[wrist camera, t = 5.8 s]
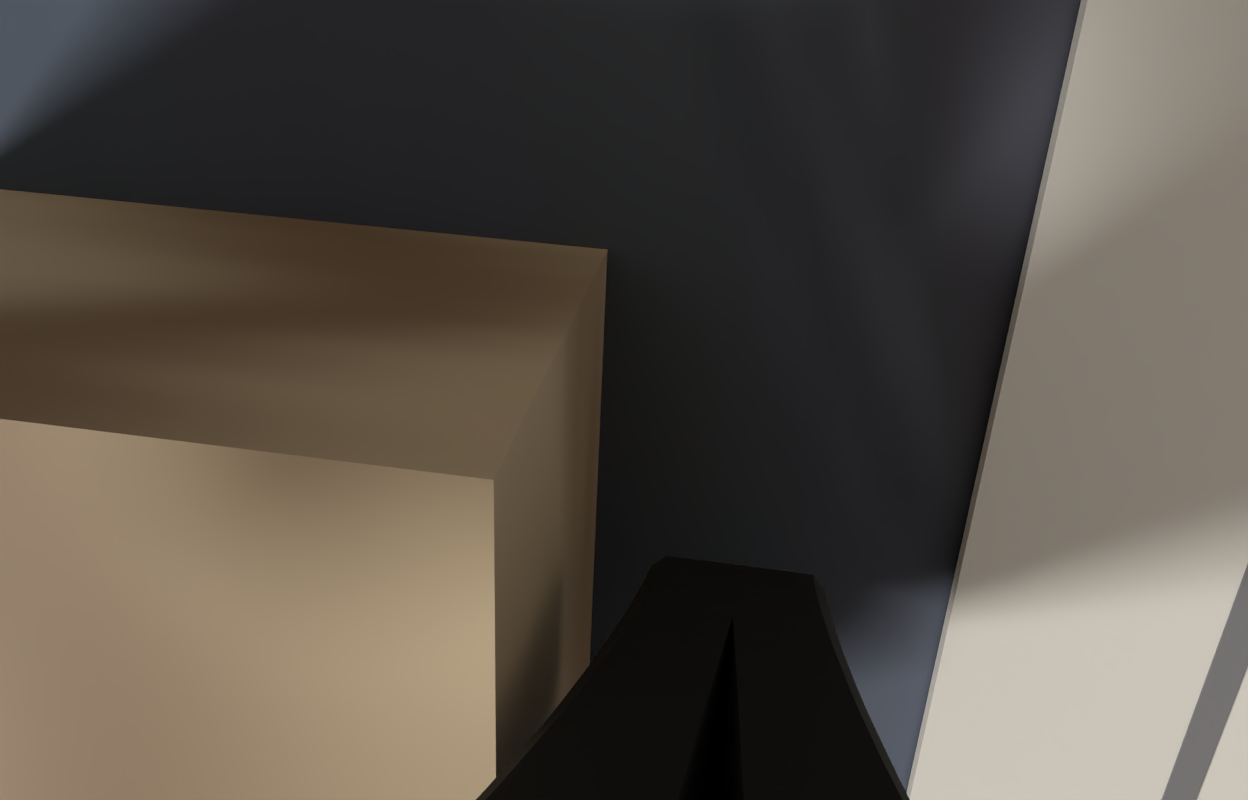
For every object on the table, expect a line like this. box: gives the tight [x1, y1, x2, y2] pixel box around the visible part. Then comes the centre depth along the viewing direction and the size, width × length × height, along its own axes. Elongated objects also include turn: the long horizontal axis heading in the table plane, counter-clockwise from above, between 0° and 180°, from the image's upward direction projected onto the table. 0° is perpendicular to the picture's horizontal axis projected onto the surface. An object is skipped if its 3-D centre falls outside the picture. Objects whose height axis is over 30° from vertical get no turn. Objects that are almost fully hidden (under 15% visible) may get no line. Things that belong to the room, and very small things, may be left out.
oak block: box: [0, 189, 607, 800], centre depth 10 cm, size 6×6×4 cm
